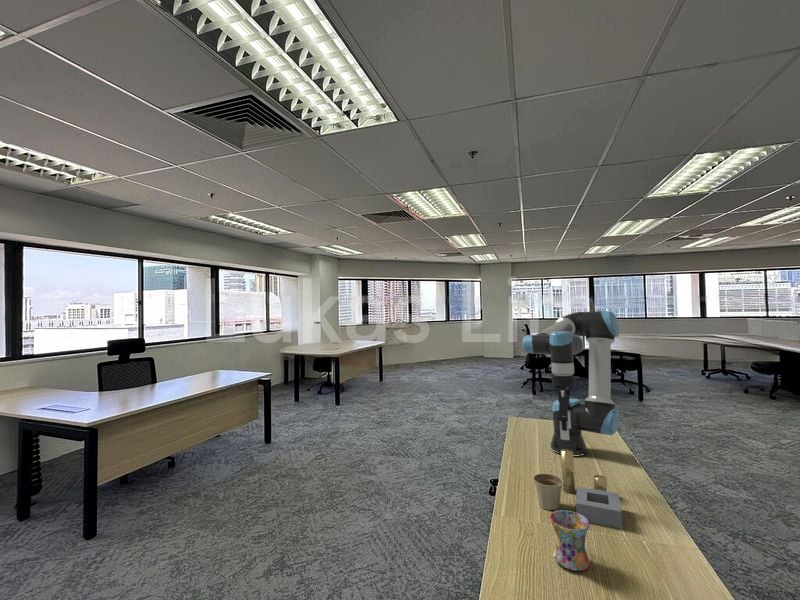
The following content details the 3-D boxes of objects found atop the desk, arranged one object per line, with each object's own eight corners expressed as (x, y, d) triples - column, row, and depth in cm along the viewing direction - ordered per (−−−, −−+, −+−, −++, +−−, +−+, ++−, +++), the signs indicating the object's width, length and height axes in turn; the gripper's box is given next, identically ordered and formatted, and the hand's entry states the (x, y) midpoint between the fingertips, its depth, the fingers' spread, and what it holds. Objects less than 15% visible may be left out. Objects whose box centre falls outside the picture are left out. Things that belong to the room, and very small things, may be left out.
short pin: (594, 491, 128) (593, 474, 129) (607, 493, 127) (606, 476, 127) (594, 496, 125) (593, 478, 125) (607, 498, 123) (606, 480, 123)
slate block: (577, 501, 122) (577, 486, 122) (619, 509, 116) (618, 493, 117) (576, 519, 111) (575, 503, 112) (622, 529, 106) (621, 511, 106)
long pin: (563, 487, 132) (561, 448, 133) (575, 489, 130) (573, 449, 131) (562, 492, 129) (560, 452, 129) (575, 494, 127) (572, 453, 127)
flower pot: (563, 500, 123) (562, 474, 123) (566, 515, 114) (564, 487, 114) (533, 497, 126) (532, 472, 126) (534, 511, 117) (533, 484, 117)
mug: (596, 577, 87) (593, 532, 88) (555, 572, 89) (552, 527, 90) (584, 546, 99) (581, 506, 99) (547, 542, 101) (545, 503, 101)
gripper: (554, 368, 144) (557, 422, 143) (548, 379, 122) (551, 443, 121) (575, 369, 141) (578, 424, 140) (573, 380, 119) (576, 446, 118)
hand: (566, 433), depth 130 cm, fingers open, 13 cm apart
